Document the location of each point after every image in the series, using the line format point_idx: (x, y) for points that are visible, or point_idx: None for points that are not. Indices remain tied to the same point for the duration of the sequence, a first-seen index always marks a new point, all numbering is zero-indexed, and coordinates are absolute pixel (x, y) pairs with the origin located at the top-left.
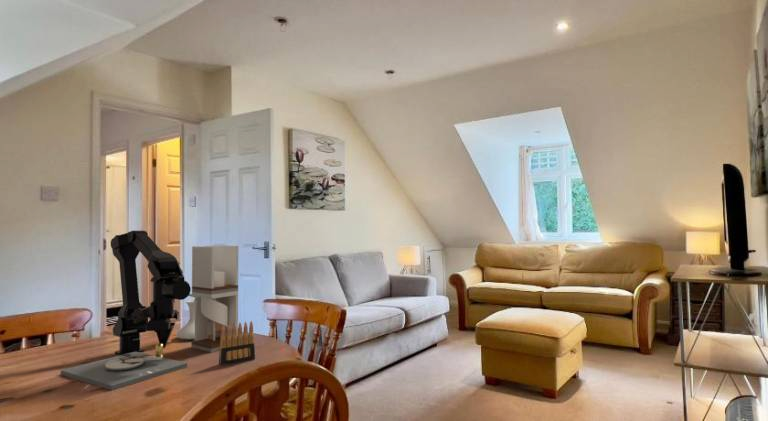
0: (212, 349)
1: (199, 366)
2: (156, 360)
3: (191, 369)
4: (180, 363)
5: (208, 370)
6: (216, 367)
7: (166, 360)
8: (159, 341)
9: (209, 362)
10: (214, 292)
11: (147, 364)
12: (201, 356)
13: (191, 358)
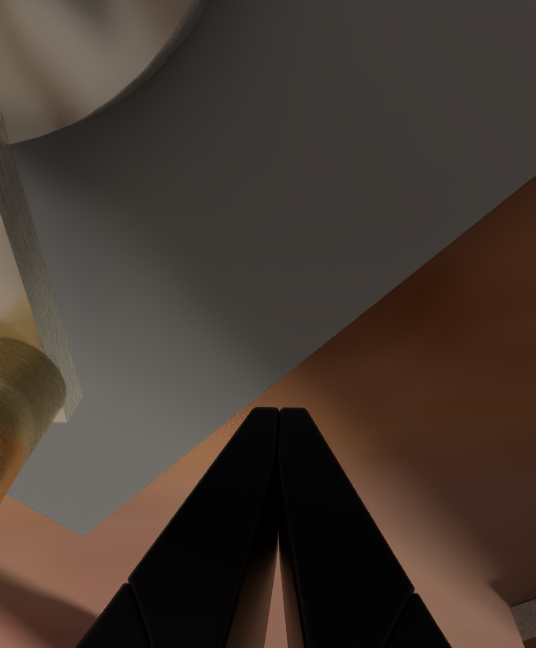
0: (524, 637)
1: (107, 564)
2: (232, 257)
3: (31, 530)
4: (69, 496)
5: (8, 603)
6: (74, 631)
7: (203, 371)
8: (178, 516)
9: None
10: None
11: (38, 177)
12: (409, 562)
13: (374, 509)
